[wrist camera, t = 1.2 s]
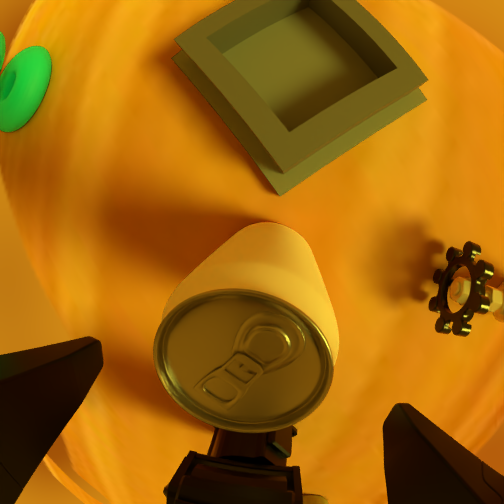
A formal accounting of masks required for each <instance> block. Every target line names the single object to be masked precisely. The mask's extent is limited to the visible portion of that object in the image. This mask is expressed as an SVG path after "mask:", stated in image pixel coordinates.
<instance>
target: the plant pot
mask: <svg viewBox="0 0 504 504" xmlns="http://www.w3.org/2000/svg"><path fill="white" fill-rule="evenodd" d="M303 504H328V501H327V500H326V499H325V498H324V497H322V496H318V495H303Z"/></svg>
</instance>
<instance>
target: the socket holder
mask: <svg viewBox="0 0 504 504" xmlns="http://www.w3.org/2000/svg"><path fill="white" fill-rule="evenodd" d="M174 40H175V41H176V43H177V44H178V45H179V46H180V47H181V48H182V50H181V51H180V52H179V53H177V54H176V55H175V56H173V57H172V58H171V59H172V60H173V61H174V62H175V63H176V64H177V65H178V67H179V68H180V69H181V70H182V71H183V72H184V74H185V75H186V76H187V77H188V78H189V80H190V81H191V82H192V83H193V84H194V85H195V87H196V88H197V89H198V90H199V91H200V93H201V94H202V95H203V96H204V98H205V99H206V100H207V101H208V102H209V104H210V105H211V106H212V107H213V109H214V110H215V111H216V112H217V114H218V115H219V116H220V117H221V119H222V120H223V121H224V122H225V124H226V125H227V126H228V127H229V129H230V130H231V131H232V133H233V134H234V135H235V136H236V138H237V139H238V140H239V142H240V143H241V144H242V146H243V147H244V148H245V150H246V151H247V152H248V154H249V155H250V156H251V158H252V159H253V160H254V162H255V163H256V164H257V166H258V167H259V168H260V170H261V171H262V172H263V174H264V175H265V176H266V178H267V179H268V181H269V182H270V183H271V185H272V186H273V187H274V189H275V190H276V192H277V193H278V194H279V196H282V195H283V194H284V193H286V192H287V191H289V190H290V189H292V188H293V187H295V186H296V185H297V184H299V183H300V182H302V181H303V180H305V179H306V178H308V177H309V176H311V175H312V174H314V173H315V172H317V171H318V170H319V169H321V168H322V167H324V166H325V165H327V164H328V163H330V162H331V161H333V160H334V159H336V158H337V157H339V156H340V155H342V154H343V153H345V152H346V151H348V150H349V149H351V148H352V147H354V146H356V145H357V144H359V143H360V142H362V141H363V140H365V139H366V138H368V137H369V136H371V135H372V134H374V133H376V132H377V131H379V130H380V129H382V128H383V127H385V126H386V125H388V124H390V123H391V122H393V121H394V120H396V119H397V118H399V117H401V116H402V115H404V114H405V113H407V112H409V111H410V110H412V109H413V108H415V107H417V106H418V105H420V104H421V103H423V102H425V101H426V100H427V99H426V98H425V96H424V95H423V93H422V92H421V90H420V89H419V88H418V87H420V86H421V85H422V84H424V83H425V82H426V81H428V79H427V77H426V76H425V75H424V73H423V72H422V71H421V69H420V68H419V67H418V65H417V64H416V63H415V62H414V60H413V59H412V58H411V57H410V56H409V54H408V53H407V52H406V51H405V50H404V48H403V47H402V46H401V45H400V44H399V43H398V42H397V40H396V39H395V38H394V37H393V36H392V35H391V34H390V33H389V32H388V31H387V30H386V29H385V28H384V27H383V26H382V25H381V24H380V23H379V22H378V21H377V20H376V19H375V18H374V17H373V16H372V15H371V14H370V13H369V12H368V11H367V10H366V9H365V8H364V7H363V6H362V5H360V4H359V3H358V2H357V1H356V0H235V1H233V2H231V3H229V4H228V5H226V6H224V7H222V8H221V9H219V10H217V11H216V12H214V13H212V14H211V15H209V16H207V17H206V18H204V19H203V20H201V21H199V22H198V23H196V24H195V25H193V26H192V27H190V28H189V29H188V30H186V31H185V32H183V33H182V34H180V35H179V36H178V37H176V38H175V39H174Z"/></svg>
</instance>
